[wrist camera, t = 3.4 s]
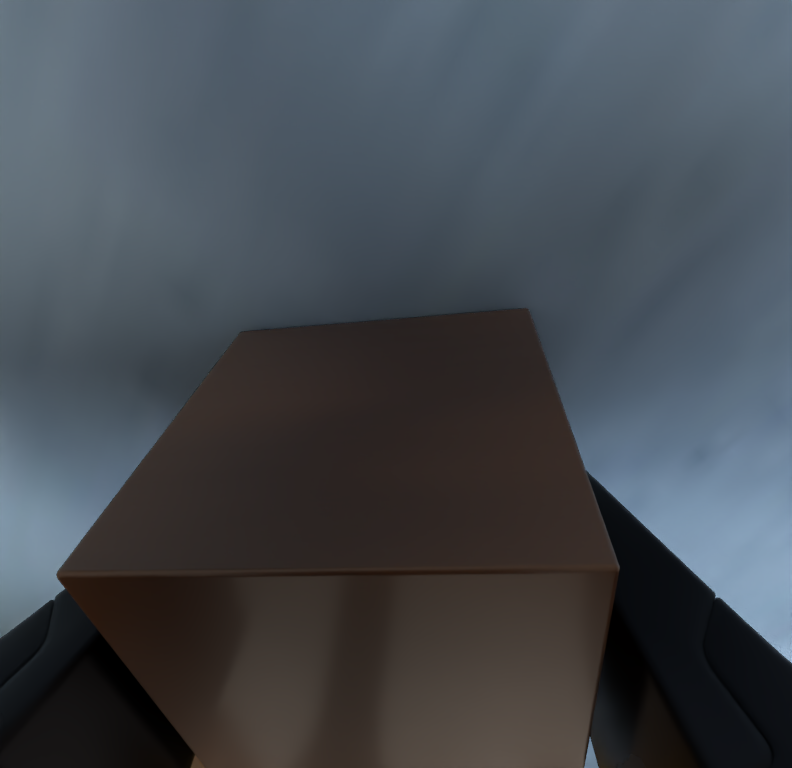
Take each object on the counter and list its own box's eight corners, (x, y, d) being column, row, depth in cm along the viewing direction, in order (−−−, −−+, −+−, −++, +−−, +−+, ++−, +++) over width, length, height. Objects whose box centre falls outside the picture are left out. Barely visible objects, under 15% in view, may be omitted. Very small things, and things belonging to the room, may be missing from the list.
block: (529, 306, 8) (622, 568, 4) (525, 519, 11) (577, 811, 6) (239, 330, 9) (51, 575, 5) (303, 524, 11) (221, 791, 7)
